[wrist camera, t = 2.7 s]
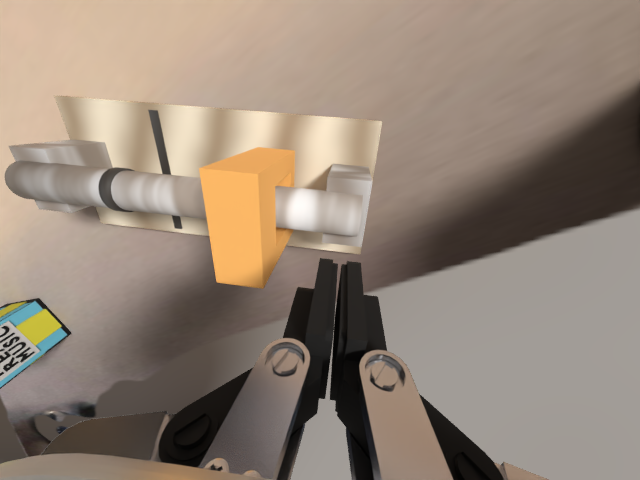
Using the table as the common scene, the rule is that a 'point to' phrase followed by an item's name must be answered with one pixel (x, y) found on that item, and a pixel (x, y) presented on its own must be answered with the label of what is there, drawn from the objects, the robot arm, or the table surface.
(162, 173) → the pipe rig
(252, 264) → the collar
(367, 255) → the table surface
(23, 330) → the carton
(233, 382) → the robot arm
